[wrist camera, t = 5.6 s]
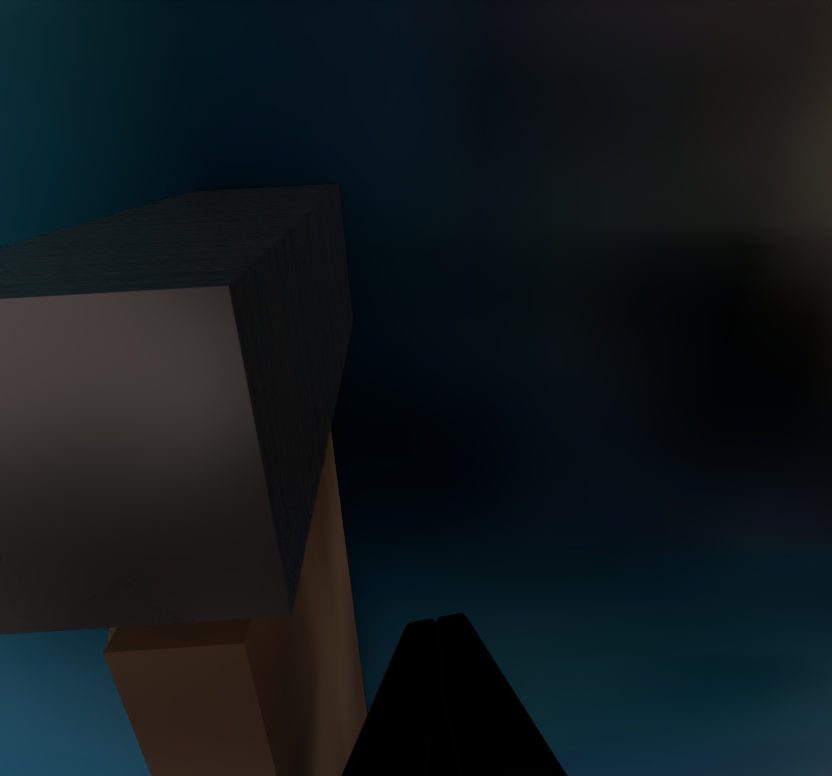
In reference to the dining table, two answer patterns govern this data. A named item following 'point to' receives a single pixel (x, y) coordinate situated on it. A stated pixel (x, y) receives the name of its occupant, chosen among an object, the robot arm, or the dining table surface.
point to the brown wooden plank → (253, 675)
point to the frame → (168, 408)
